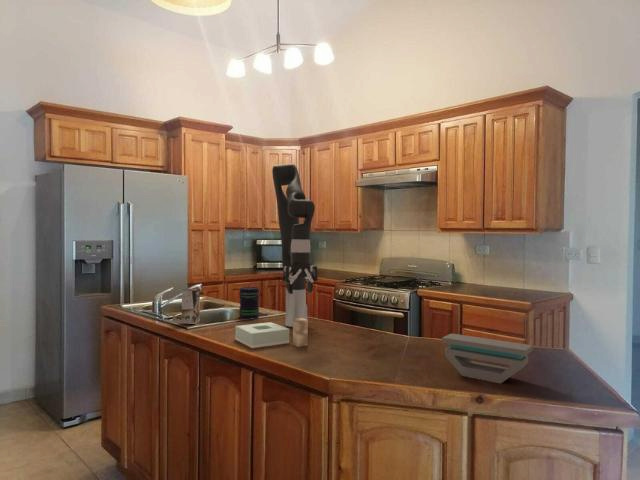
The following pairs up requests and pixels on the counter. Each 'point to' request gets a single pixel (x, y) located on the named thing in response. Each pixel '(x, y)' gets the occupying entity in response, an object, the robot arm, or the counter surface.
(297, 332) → the peg
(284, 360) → the counter surface
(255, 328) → the socket block
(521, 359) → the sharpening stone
